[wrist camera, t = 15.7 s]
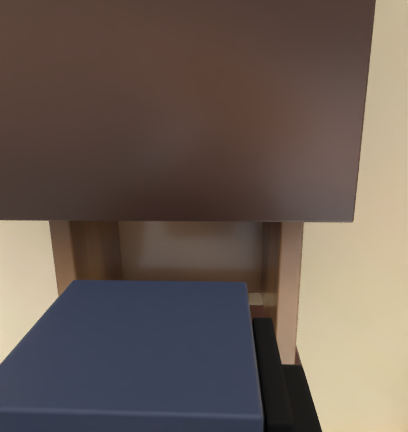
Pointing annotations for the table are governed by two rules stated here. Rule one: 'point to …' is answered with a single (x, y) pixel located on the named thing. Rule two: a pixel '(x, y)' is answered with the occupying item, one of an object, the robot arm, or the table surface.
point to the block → (136, 361)
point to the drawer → (191, 260)
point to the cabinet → (182, 109)
